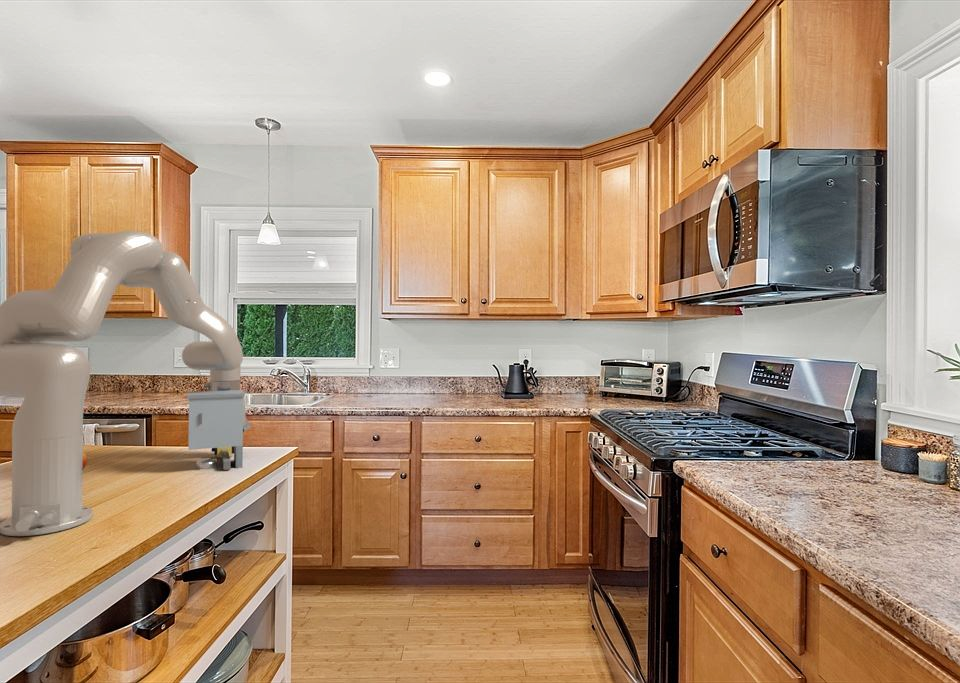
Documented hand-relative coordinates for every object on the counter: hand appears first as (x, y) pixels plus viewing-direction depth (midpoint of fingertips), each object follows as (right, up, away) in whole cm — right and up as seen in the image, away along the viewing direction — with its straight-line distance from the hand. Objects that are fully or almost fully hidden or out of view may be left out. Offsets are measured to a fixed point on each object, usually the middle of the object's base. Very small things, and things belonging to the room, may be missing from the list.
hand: (224, 452), depth 143 cm
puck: (+1, -1, -12) cm, 12 cm away
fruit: (-26, -1, -22) cm, 34 cm away
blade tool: (+4, -1, -7) cm, 8 cm away
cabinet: (+3, -1, -11) cm, 11 cm away
